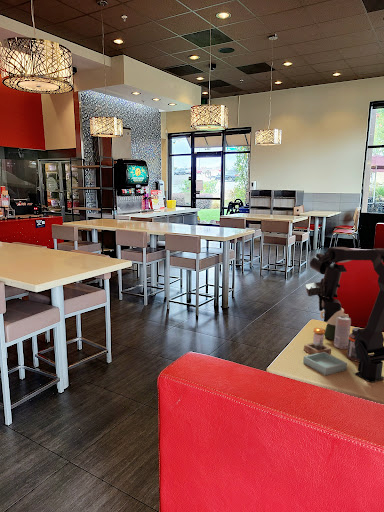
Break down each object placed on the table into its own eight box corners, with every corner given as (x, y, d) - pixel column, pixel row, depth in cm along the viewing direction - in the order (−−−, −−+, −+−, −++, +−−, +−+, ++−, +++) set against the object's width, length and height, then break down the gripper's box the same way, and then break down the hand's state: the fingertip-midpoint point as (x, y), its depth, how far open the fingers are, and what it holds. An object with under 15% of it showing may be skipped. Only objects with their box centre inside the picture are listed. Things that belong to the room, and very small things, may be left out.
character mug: (345, 337, 162) (349, 308, 159) (345, 343, 155) (348, 312, 153) (319, 333, 166) (321, 304, 163) (317, 338, 159) (320, 308, 157)
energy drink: (345, 344, 154) (348, 316, 152) (349, 349, 149) (353, 320, 147) (332, 343, 154) (335, 315, 152) (335, 348, 149) (338, 319, 147)
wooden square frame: (330, 354, 144) (331, 348, 144) (317, 357, 141) (318, 351, 140) (316, 347, 150) (317, 341, 150) (303, 350, 147) (304, 344, 146)
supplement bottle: (349, 353, 145) (352, 325, 143) (365, 358, 141) (369, 329, 140) (344, 358, 141) (347, 329, 139) (361, 363, 137) (364, 333, 135)
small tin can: (325, 353, 145) (327, 330, 143) (317, 355, 143) (319, 332, 141) (317, 349, 148) (319, 327, 147) (309, 350, 146) (311, 328, 145)
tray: (346, 369, 131) (347, 363, 131) (325, 375, 127) (326, 368, 126) (323, 358, 140) (324, 351, 140) (303, 363, 135) (303, 356, 135)
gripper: (305, 267, 152) (298, 302, 157) (314, 285, 134) (305, 324, 140) (334, 271, 151) (325, 306, 156) (346, 290, 133) (336, 329, 139)
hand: (322, 316), depth 148 cm, fingers open, 9 cm apart
